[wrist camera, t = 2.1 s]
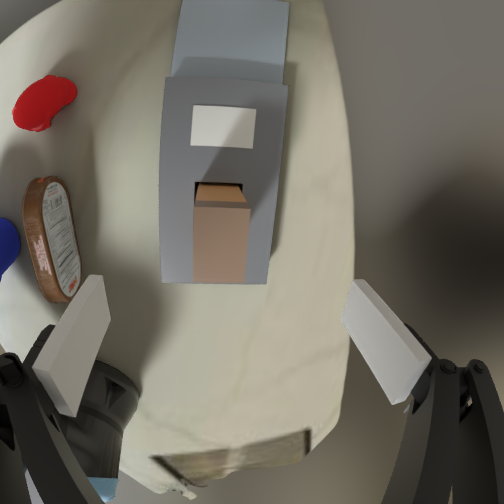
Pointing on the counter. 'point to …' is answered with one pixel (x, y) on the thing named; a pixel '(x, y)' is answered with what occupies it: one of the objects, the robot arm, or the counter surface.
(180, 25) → the mat
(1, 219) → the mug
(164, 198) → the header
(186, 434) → the counter surface
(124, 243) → the counter surface
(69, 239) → the tin
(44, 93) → the cap
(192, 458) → the counter surface
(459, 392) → the robot arm
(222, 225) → the plug
